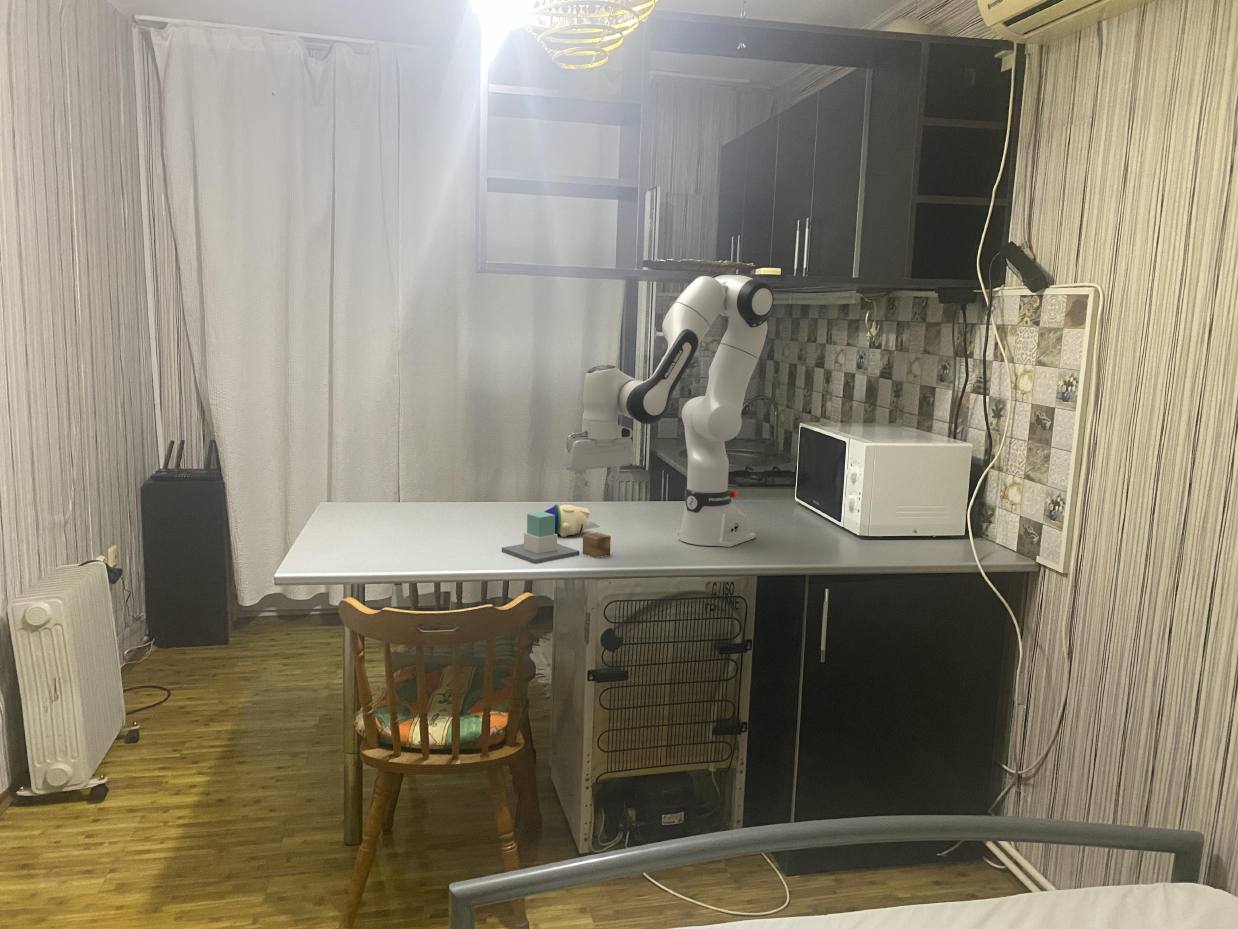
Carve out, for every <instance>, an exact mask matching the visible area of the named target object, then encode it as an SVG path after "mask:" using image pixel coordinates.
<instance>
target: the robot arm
mask: <svg viewBox="0 0 1238 929" xmlns="http://www.w3.org/2000/svg"><path fill="white" fill-rule="evenodd" d="M774 301H775V294H774V290H773V288H772V287H771V286H770V284H768V283H767V282H765V281H763V280H761V279H760V278H759V279H758V278H752V277H749V276H746V275H742V274H741V275H740V274H738V275H737V274H727V273H717V274H714V275H711V276H708V275H701V276H698V277H696V278H695V279H694V280H692V282H691V283H690V284H688V286H687V287H686V288H684V290H683V291H682V293H681V294H680V295H679V296H678V297H677V299H676V300H675V301H674V302H673V304H672V306H671V307H670V308H669V310H668V312H667V313H666V315H665V317H664V319H663V322H662V324H661V325H662V327H661V329H662V334H663V336H664V339H665V340H666V341H667V349H666V352H665V354H664V355H663V357H662V359H661V361H660V362H659V364H658V365H657V367H656V369H655V371H654V373H653V374H652V375H651V376H650V377H649V378H648V379H646V380H644V381H643V380H639V379H637V378H634V377H632V376H630V375H628V374H626V373H624V372H622V371H621V370H619V369H618V367H617V366H615V365H613V364H612V365H610V364H607V365H605V364H603V365H598V366H594V367H592V368H589V369H588V370H587V371H586V374H585V376H584V377H585V378H584V382H583V389H582V390H583V394H582V403H583V406H584V408H583V413H582V420H581V421H582V422H581V432H572V433H571V434H570V435H569V436H568V437H567V438H566V441H565V448H564V454H563V467H564V469H565V470H566V471H572V472H574V474H575V475H576V478H577V479H578V487H579V488H582V489H583V488H587V487H589V485H588V484H589V480H587V479H586V478H585V476H584V475H585V474H586V470H587V471H589V470H596V469H607V468H610V470H611V472H610V474H609V476H607V478H606V479H607V484H608V485H615V484H616V483H617V478H618V475H619V473H620V471H621V467H624V466H630V465H631V463H632V462H633V456H634V453H633V452H634V445H633V440H632V439H631V438H632V437H633V434H634V433H633V432H634V431H633V430H632V428H629V427H626V426H623V425H621V424H618V423H619V416H621V415H622V416H624V417H627V418H629V419H634V420H635V421H637V422H639V423H641V424H644V425H651V424H652V425H653V424H656V423H658V422H659V421H661V420H662V419H663V418H664V417H665V416H666V415H667V413H668V410H669V408H670V404H671V400H672V397H673V394H674V391H675V389H676V387H677V385H678V384H679V382H680V381H681V379H682V377H683V375H684V374H685V372H686V370H687V369H688V367H689V366H690V363H691V361H692V360H693V358H694V356H695V354H696V352H697V350H698V348H699V344H700V343H702V342H701V341H702V340H703V338H704V336H705V335H706V333H707V332H708V331H709V329H710V328H711V327H712V325H713V323H714V322H715V321H716V319H717V317H718V316H720V315H721V316H723V317H727V319H728V321H727V322H728V324H727V325H728V326H727V329H726V331H725V333H724V335H723V337H722V339H721V341H720V344H719V345H718V348H717V350H716V352H715V355H714V357H713V359H712V362H711V363H710V364H711V365H710V367H709V369H708V380H707V381H708V382H707V387H706V390H705V391H706V392H705V395H699V396H696V397H693V398H691V399H689V400H688V401H686V402H685V404H684V405H683V408H682V409H681V420H682V422H683V427H684V428H683V429H684V437H685V447H686V453H687V454H686V455H687V475H686V478H687V479H686V484H687V485H686V487H685V491H684V501H685V505H684V507H683V513H682V519H681V526H680V529H679V530H678V534H679V535H678V540H679V541H680V542H684V543H687V544H691V545H697V546H708V547H709V546H710V547H713V546H714V547H715V546H716V547H725V548H729V547H730V548H731V547H733V546H737V545H739V544H742V543H745V542H747V541H750V540H753V539H756V533H754V532H753V531H749V530H748V518H747V516H746V515H745V513H743V512H742V511H741V510H740V509H739V508H737V507H736V506H735V505H734V504H733V502H732V498H734V499H736V498H738V496H739V492H738V491H737V490H734V489H730V490H729V489H728V485H729V467H730V462H729V458H728V454H727V452H726V451H727V450H726V444H725V442H727V441H730V440H733V439H734V438H735V437H737V436H738V435H739V433H740V430H741V428H742V425H743V424H742V422H743V421H742V411H743V405H744V401H745V395H746V392H747V388H748V385H749V383H750V379H751V377H752V375H753V372H754V370H755V369H756V366H757V363H758V362H759V359H760V356H761V353H762V351H763V348H764V344H765V341H766V338H767V334H768V323H767V320H768V319H769V317H770V314H771V312H772V309H773V306H774Z"/></svg>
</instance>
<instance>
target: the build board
mask: <svg viewBox="0 0 1238 929" xmlns="http://www.w3.org/2000/svg"><path fill="white" fill-rule="evenodd" d="M501 552H502V553H505V554H508V555H510V556H513V557H516V558H519V559H521V560H525V561H526V560H527V561H526V562H529V561H530V563H532V562H533V563H532V564H540V563H543V561H545V562H550V561H555V560H559V559H560V558H561V559H565V557H566V558H570V557H575V555H576V556H579V555H580V550H578V549H576V548H575V549H574V548H572V547H568V546H566V545H563V544H560V543H558V535H557V534H555V535H549V536H543V537H537V536H534V535H531V534H528V533H527V532H523V543H521V544H515V545H514V544H513V545H509V546H503V547H502V546H501ZM549 560H550V561H549ZM539 562H540V563H539Z"/></svg>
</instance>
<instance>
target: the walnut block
mask: <svg viewBox="0 0 1238 929" xmlns="http://www.w3.org/2000/svg"><path fill="white" fill-rule="evenodd" d="M611 537H612V536H611V535H609V534H605V533H602V532H593V533H591V532H590V533H585V534H583V535H582V553H583V554H582V555H585V554H586V555H585V556H588V555H589V556H588V557H592V558H594V557H595V558H594V559H596V557H598V558H601V556H602V557H606V555H607V556H610V555H611V545H612V544H611V542H612V541H611V540H612V538H611Z"/></svg>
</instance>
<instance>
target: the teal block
mask: <svg viewBox="0 0 1238 929" xmlns="http://www.w3.org/2000/svg"><path fill="white" fill-rule="evenodd" d="M526 521H527V522H526V533H528V534H531V535H534V536H537V537H543V536H549V535H555V515H553V514H549V513H546V512H544V511H539V512H538V511H537V512H532V513H527V515H526Z"/></svg>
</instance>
